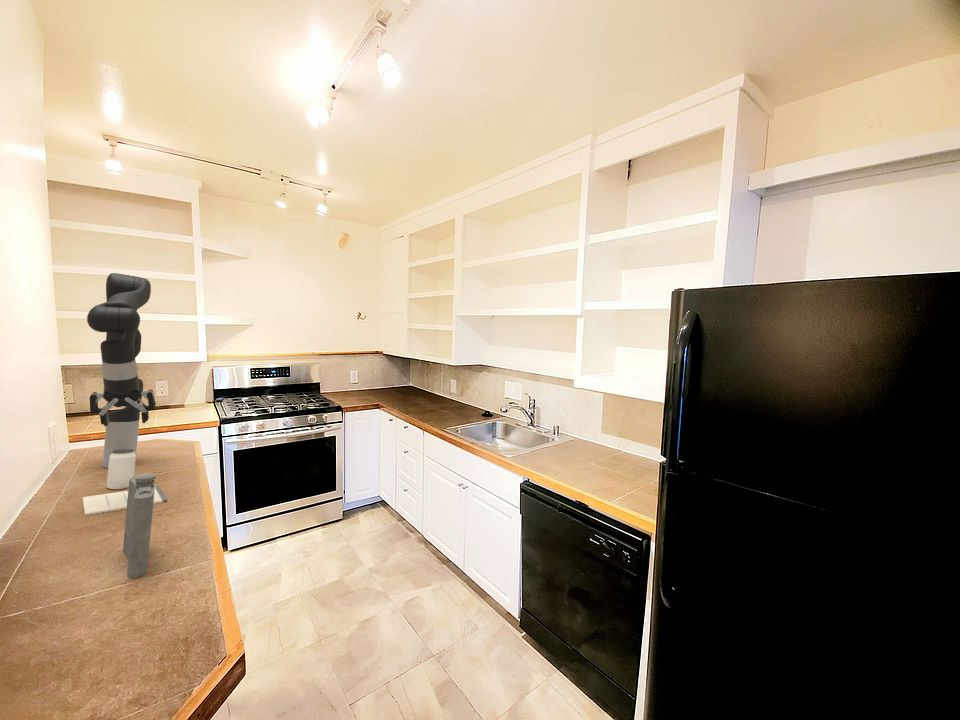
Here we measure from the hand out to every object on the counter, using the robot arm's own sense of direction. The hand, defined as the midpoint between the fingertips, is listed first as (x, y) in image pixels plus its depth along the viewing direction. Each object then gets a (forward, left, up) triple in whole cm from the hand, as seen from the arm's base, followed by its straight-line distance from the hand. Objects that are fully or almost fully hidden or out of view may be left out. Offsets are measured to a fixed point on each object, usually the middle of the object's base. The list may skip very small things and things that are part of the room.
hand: (125, 423), depth 116 cm
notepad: (0, +2, -24) cm, 24 cm away
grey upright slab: (+41, 0, -24) cm, 48 cm away
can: (-14, +2, -24) cm, 28 cm away
